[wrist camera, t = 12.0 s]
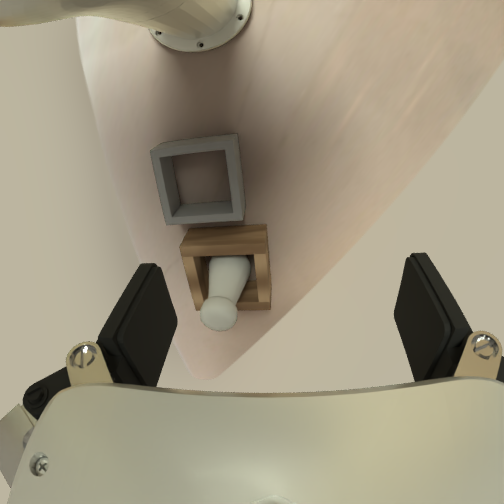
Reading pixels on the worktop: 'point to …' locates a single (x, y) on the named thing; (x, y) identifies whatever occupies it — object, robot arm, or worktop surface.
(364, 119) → the worktop surface
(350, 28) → the worktop surface
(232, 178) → the grey open tray
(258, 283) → the brown wooden open box
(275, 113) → the worktop surface
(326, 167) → the worktop surface
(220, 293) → the salt shaker
